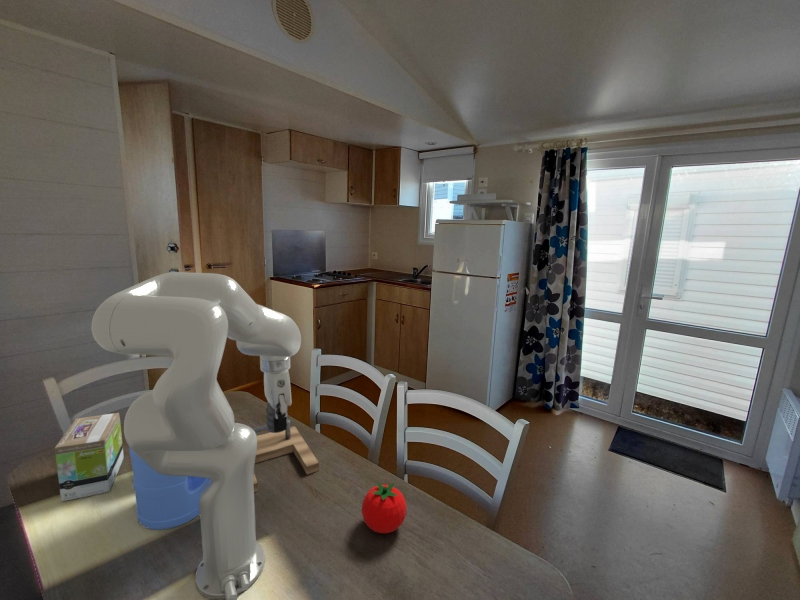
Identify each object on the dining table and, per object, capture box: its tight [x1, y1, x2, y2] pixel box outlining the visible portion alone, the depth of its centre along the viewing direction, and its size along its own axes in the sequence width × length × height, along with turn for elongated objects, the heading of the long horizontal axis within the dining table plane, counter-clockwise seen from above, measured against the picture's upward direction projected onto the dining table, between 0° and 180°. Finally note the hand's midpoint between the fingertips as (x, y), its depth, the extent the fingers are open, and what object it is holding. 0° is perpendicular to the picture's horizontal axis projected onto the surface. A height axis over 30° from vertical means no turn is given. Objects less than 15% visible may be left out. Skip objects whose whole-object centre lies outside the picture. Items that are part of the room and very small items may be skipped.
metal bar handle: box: [252, 418, 292, 440], centre depth 110 cm, size 3×14×6 cm, turn 123°
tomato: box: [361, 481, 407, 534], centre depth 86 cm, size 10×10×10 cm
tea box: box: [54, 412, 125, 502], centre depth 96 cm, size 15×10×15 cm, turn 25°
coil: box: [265, 402, 289, 433], centre depth 100 cm, size 5×5×7 cm
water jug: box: [128, 446, 211, 531], centre depth 87 cm, size 16×16×28 cm
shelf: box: [253, 425, 320, 493], centre depth 108 cm, size 22×20×2 cm
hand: (277, 424), depth 101 cm, fingers closed on coil, 5 cm apart
